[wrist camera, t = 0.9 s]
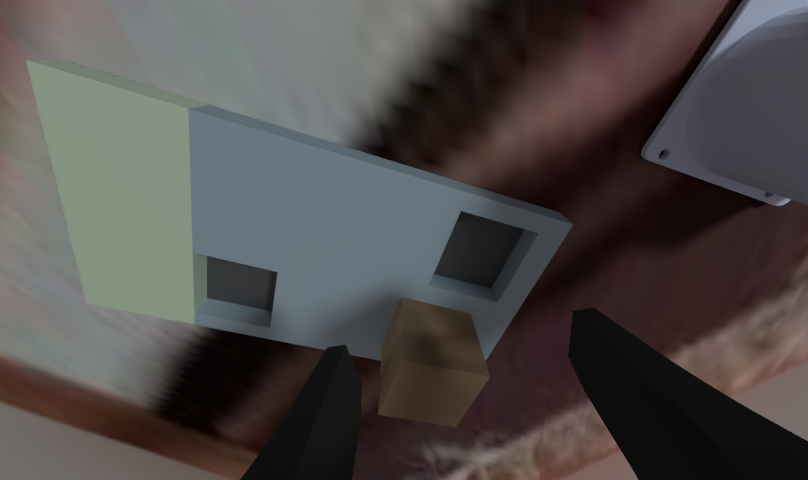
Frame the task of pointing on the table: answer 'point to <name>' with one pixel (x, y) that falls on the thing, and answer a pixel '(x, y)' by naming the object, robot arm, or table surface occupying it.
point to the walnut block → (430, 364)
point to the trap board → (272, 221)
